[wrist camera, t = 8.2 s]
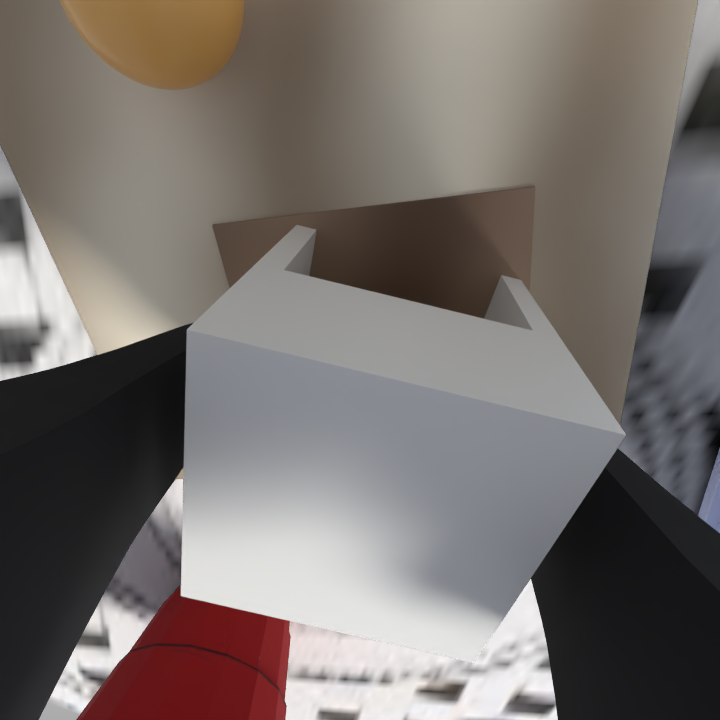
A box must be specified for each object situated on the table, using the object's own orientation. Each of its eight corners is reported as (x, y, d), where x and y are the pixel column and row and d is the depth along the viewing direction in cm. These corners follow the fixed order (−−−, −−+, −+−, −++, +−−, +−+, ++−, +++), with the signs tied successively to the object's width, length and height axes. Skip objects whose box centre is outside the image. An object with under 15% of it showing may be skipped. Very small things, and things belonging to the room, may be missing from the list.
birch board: (743, -486, 6) (816, -617, 5) (597, 441, 14) (613, 469, 13) (-116, -218, 9) (-196, -268, 7) (171, 456, 17) (153, 481, 15)
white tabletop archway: (520, 280, 11) (626, 435, 6) (449, 450, 13) (474, 663, 8) (296, 224, 11) (186, 328, 5) (270, 408, 13) (180, 596, 8)
